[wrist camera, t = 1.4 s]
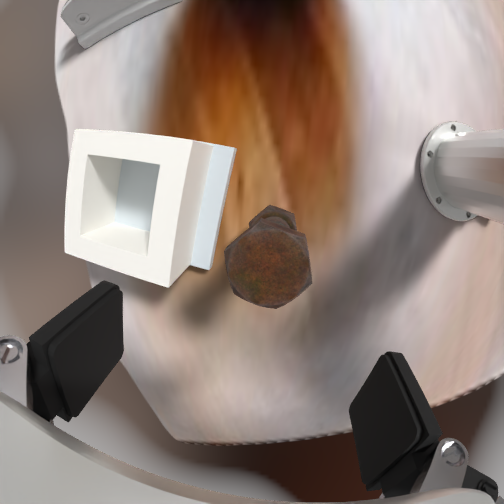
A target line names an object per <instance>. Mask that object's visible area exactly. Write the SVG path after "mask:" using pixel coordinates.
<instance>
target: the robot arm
mask: <svg viewBox="0 0 504 504" xmlns="http://www.w3.org/2000/svg"><path fill="white" fill-rule="evenodd" d="M427 153H428V155H427ZM420 169H421V178H422V183H423V186H424V189H425V192H426V195H427V196H428V198H429V200H430V202H431V203H432V205H433V206H434V207H435V209H436V210H437V211H438V212H440V213H441V214H442V215H444V216H445V217H447V218H449V219H452V220H455V221H468V220H471V219H473V218H475V217H476V216H478V215H479V216H482V217H485V218H488V219H490V220H493V221H496V222H499V223H501V224H504V129H494V130H483V131H475V130H474V129H472V128H471V127H470V126H468V125H466V124H464V123H461V122H457V121H455V122H446V123H442V124H440V125H438V126H437V127H435V128H434V129H433V130H432V131H431V132H430V134H429V135H428V136H427V138H426V140H425V143H424V145H423V149H422V153H421V161H420ZM436 199H437V200H436ZM29 339H30V342H28V343H27V344H26V343H25V342H24V341H23V340H22V339H21V338H19V337H17V336H13V335H7V336H2V337H0V504H504V499H503V498H502V497H501V496H499V497H498V486H497V484H496V482H495V481H494V480H492V479H491V478H489V477H488V476H486V475H484V474H482V473H480V472H479V471H477V470H475V469H473V468H472V467H470V466H468V465H467V464H468V452H467V450H466V448H465V447H464V445H463V444H462V443H461V442H459V441H458V440H456V439H453V438H446V439H443V440H442V441H440V442H439V441H438V438H439V437H440V436H441V434H442V431H441V429H440V427H439V425H438V422H437V420H436V418H435V416H434V414H433V412H432V410H431V408H430V406H429V403H428V401H427V399H426V397H425V395H424V393H423V391H422V390H421V388H420V386H419V384H418V382H417V380H416V378H415V376H414V374H413V372H412V370H411V369H410V367H409V365H408V363H407V361H406V359H405V358H404V356H403V354H402V353H396V352H386V353H385V354H384V355H381V356H380V358H379V359H378V361H377V363H376V365H375V366H374V368H373V370H372V371H371V373H370V375H369V376H368V378H367V380H366V381H365V383H364V385H363V386H362V388H361V389H360V391H359V392H358V394H357V395H356V397H355V398H354V400H353V402H352V403H351V405H350V408H349V414H350V419H351V424H352V429H353V434H354V439H355V444H356V449H357V455H358V460H359V466H360V472H361V478H362V482H363V483H364V484H366V489H367V491H372V490H380V489H381V488H382V492H383V493H382V495H381V496H380V498H379V499H374V500H366V501H354V502H337V503H301V502H283V501H271V500H262V499H254V498H247V497H241V496H235V495H229V494H224V493H219V492H215V491H210V490H205V489H202V488H197V487H194V486H190V485H186V484H183V483H180V482H176V481H173V480H170V479H167V478H163V477H161V476H158V475H155V474H152V473H149V472H147V471H144V470H142V469H139V468H136V467H134V466H131V465H129V464H127V463H124V462H122V461H120V460H118V459H115V458H113V457H111V456H109V455H107V454H105V453H103V452H100V451H98V450H97V449H95V448H93V447H91V446H89V445H87V444H85V443H83V442H82V441H79V440H78V439H76V438H74V437H73V436H71V435H69V434H67V433H66V432H64V431H62V430H61V429H59V428H57V427H56V426H54V423H53V419H54V417H55V416H56V415H57V416H59V417H61V418H62V419H64V420H65V421H67V422H69V421H70V420H71V418H72V417H77V416H78V415H79V414H80V412H81V411H82V410H83V408H84V407H85V405H86V404H87V403H88V401H89V400H90V399H91V397H92V396H93V395H94V393H95V392H96V390H97V389H98V387H99V386H100V385H101V384H102V382H103V381H104V379H105V378H106V377H107V376H108V374H109V373H110V372H111V370H112V369H113V368H114V367H115V365H116V364H117V363H118V361H119V360H120V359H121V357H122V355H123V351H124V345H123V293H122V291H120V290H119V286H118V285H115V284H113V283H110V282H107V281H102V282H100V283H99V284H98V285H96V286H95V287H93V288H92V289H91V290H89V291H88V292H87V293H85V294H84V295H82V296H81V297H80V298H78V299H77V300H76V301H74V302H73V303H72V304H70V305H69V306H68V307H67V308H65V309H64V310H63V311H61V312H60V313H59V314H58V315H56V316H55V317H54V318H52V319H51V320H50V321H49V322H47V323H46V324H45V325H43V326H42V327H41V328H40V329H39V330H37V331H36V332H35V333H34V334H32V335H31V336H30V337H29Z"/></svg>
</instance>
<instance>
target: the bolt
mask: <svg viewBox="0 0 504 504" xmlns="http://www.w3.org/2000/svg"><path fill="white" fill-rule="evenodd" d="M224 255H225V263H226V268H227V273H228V277H229V282H230V285H231V288H232V290H233V293H234V294H235V295H237V296H238V297H240V298H242V299H244V300H246V301H248V302H250V303H253V304H255V305H258V306H262V307H266V308H274V309H277V308H279V307H281V306H284V305H285V304H287V303H289V302H290V301H292V300H293V299H295V298H296V297H298V296H299V295H300V294H301V293H302V292H304V291H305V290H306V289H307V288H308V287H309V286H310V285H311V284H312V275H311V267H310V259H309V252H308V246H307V240H306V236H305V234H303V233H301V232H298V231H297V229H296V222H295V217H294V214H293V213H291V212H289V211H286V210H284V209H281V208H278V207H275V206H272V205H269V206H268V207H266V208H265V209H264V210H262V211H261V212H260V213H259V214H258V215H257V216H255V217H254V218H253V219H252V220H251V221H250V222H249V229H247V230H246V231H245V232H244V233H243V234H241V235H240V236H239V237H238V238H237V239H235V240H234V241H233V242H232V243H231V244H230V245H228V246H227V248H226V249H225V251H224Z"/></svg>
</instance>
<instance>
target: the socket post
mask: <svg viewBox="0 0 504 504" xmlns="http://www.w3.org/2000/svg"><path fill="white" fill-rule="evenodd" d="M236 151H237V149H236V148H233V147H228V146H222V145H217V144H211V143H206V142H200V141H194V140H188V139H182V138H175V137H167V136H160V135H151V134H142V133H132V132H121V131H108V130H91V129H75V131H74V137H73V143H72V149H71V156H70V163H69V172H68V181H67V192H66V206H65V207H66V208H65V253H68V254H71V255H73V256H76V257H79V258H82V259H84V260H87V261H89V262H92V263H95V264H98V265H101V266H103V267H106V268H109V269H112V270H115V271H118V272H121V273H124V274H127V275H130V276H133V277H136V278H139V279H142V280H145V281H148V282H151V283H155V284H158V285H161V286H164V287H168V288H169V287H170V286H171V285H172V284H173V282H174V281H175V280H176V279H177V278H178V277H179V276H180V275H181V274H182V273H183V271H184V270H185V269H186V268H187V267H188V266H189V265H192V266H195V267H199V268H203V269H206V270H209V269H210V268H211V267H212V264H213V259H214V253H215V248H216V243H217V238H218V233H219V228H220V223H221V219H222V214H223V209H224V204H225V200H226V195H227V190H228V186H229V181H230V177H231V172H232V168H233V163H234V159H235V155H236Z"/></svg>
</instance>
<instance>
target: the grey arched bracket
mask: <svg viewBox="0 0 504 504" xmlns="http://www.w3.org/2000/svg"><path fill="white" fill-rule="evenodd" d="M180 1H183V0H68V1H67V2H66V4H65V5H64V7H63V9H62V12H61V18H62V19H63V20H64V22H65V23H66V24H67V25H68V27H69V28H70V29H71V30H72V32H73V33H74V34H75V35H76V37H77V39H78V42H79V44H80V45H81V46H82V47H83V48H84V49H87V48H88V47H90V46H91V45H93V44H94V43H96V42H98V41H99V40H101V39H103V38H104V37H106V36H108V35H110V34H111V33H113V32H115V31H117V30H118V29H120V28H122V27H124V26H126V25H128V24H130V23H132V22H134V21H136V20H138V19H140V18H142V17H144V16H146V15H149V14H151V13H153V12H155V11H158V10H160V9H163V8H165V7H167V6H170V5H173V4H175V3H178V2H180Z"/></svg>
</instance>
